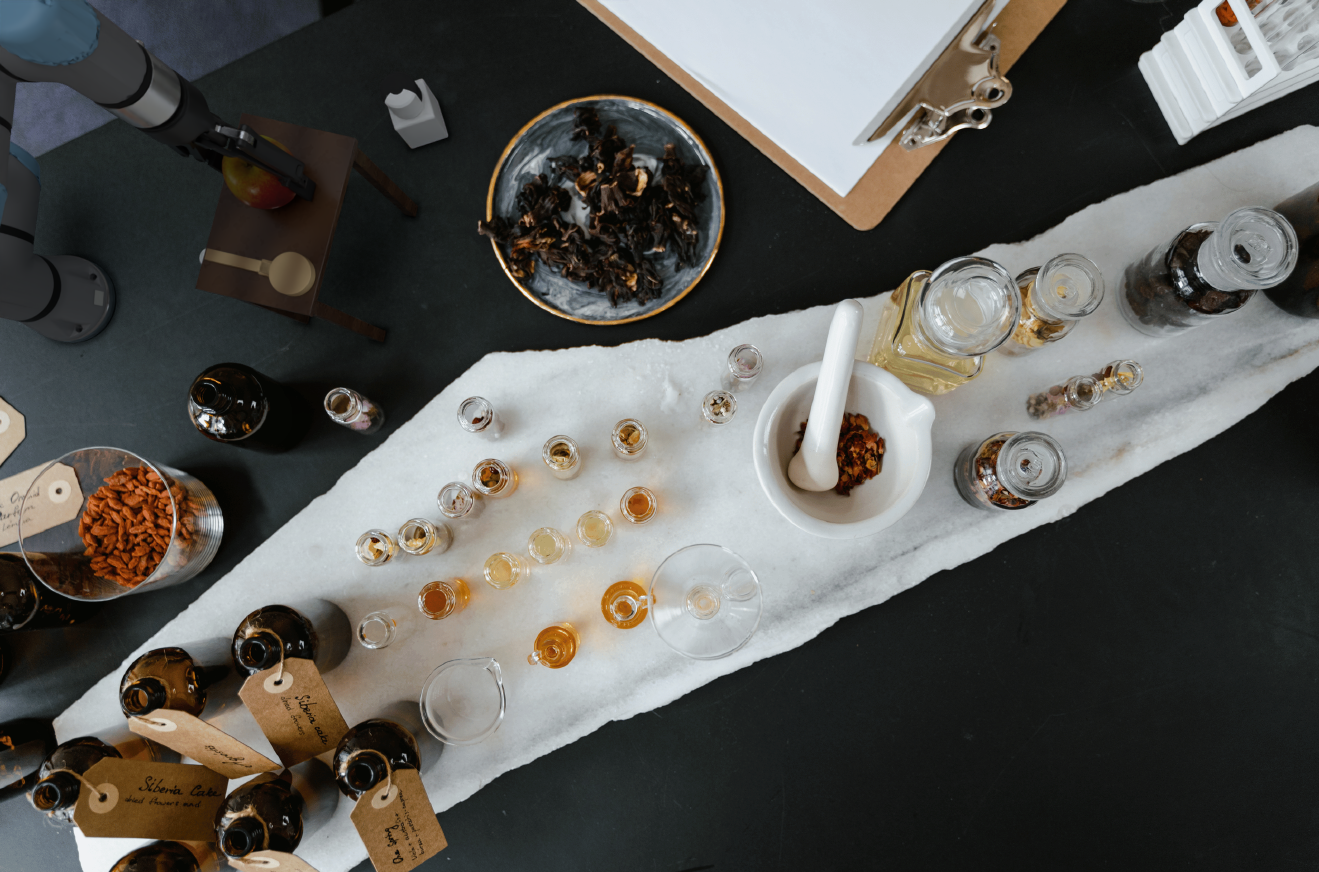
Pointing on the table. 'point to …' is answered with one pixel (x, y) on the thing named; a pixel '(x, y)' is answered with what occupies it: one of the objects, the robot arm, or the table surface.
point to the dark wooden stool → (294, 225)
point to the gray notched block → (413, 109)
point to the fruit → (255, 182)
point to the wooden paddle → (273, 269)
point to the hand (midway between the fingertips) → (278, 184)
